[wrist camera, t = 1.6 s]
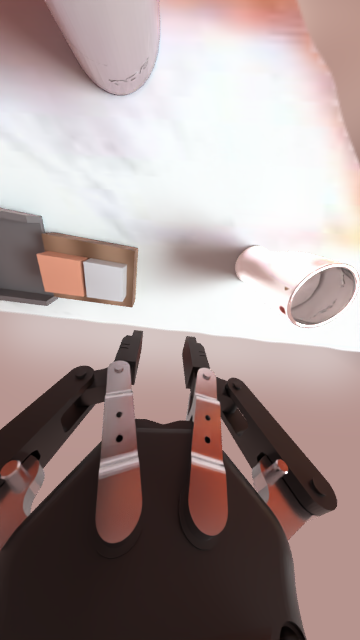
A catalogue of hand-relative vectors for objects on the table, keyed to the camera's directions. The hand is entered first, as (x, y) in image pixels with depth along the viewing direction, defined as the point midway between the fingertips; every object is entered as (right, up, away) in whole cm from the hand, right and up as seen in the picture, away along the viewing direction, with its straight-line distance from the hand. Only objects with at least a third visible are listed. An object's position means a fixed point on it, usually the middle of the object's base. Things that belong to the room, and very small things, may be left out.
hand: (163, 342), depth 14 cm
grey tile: (-9, +8, +11) cm, 17 cm away
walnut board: (-12, +10, +13) cm, 20 cm away
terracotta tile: (-15, +9, +10) cm, 20 cm away
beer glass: (+14, +12, +15) cm, 23 cm away
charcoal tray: (-24, +12, +11) cm, 29 cm away
